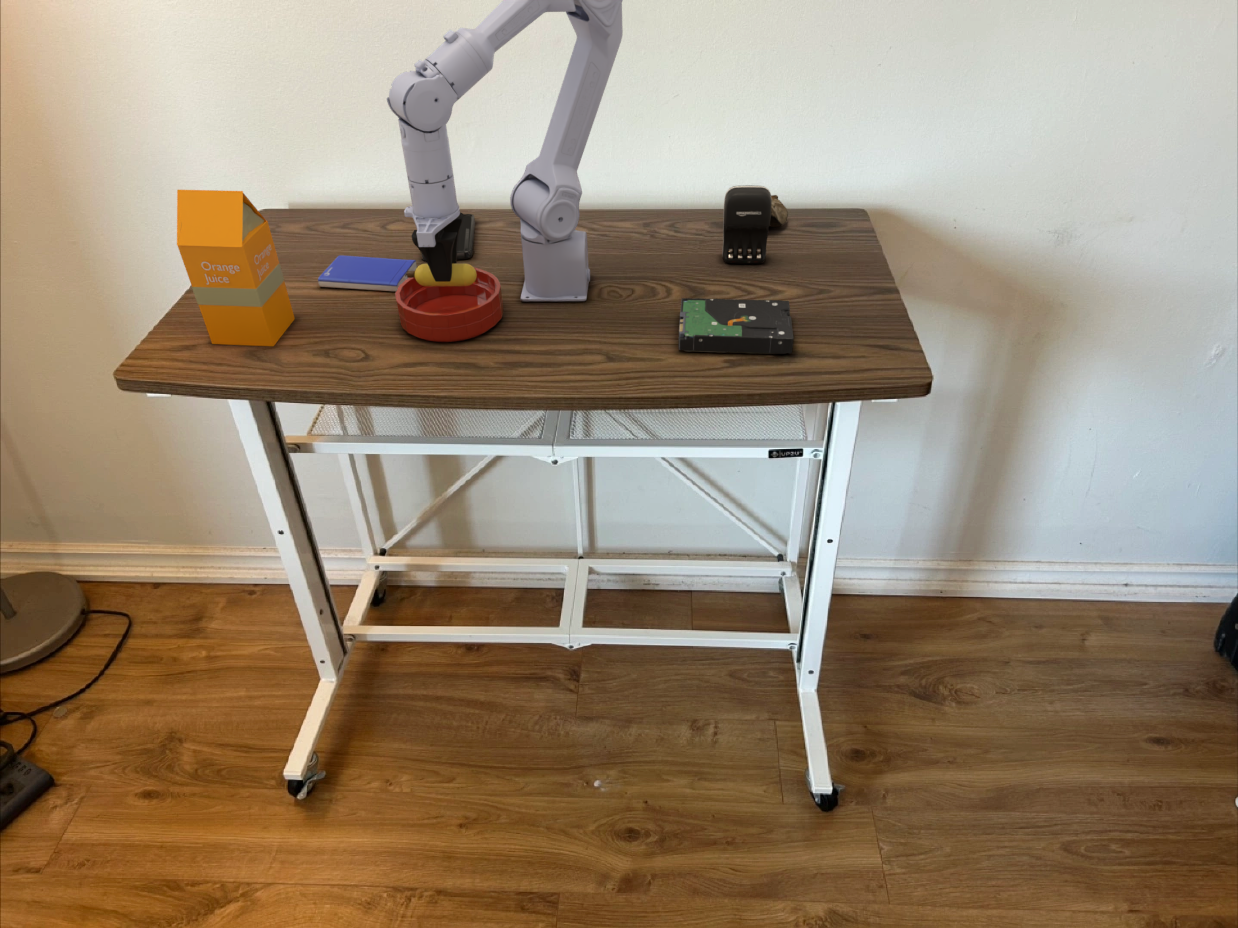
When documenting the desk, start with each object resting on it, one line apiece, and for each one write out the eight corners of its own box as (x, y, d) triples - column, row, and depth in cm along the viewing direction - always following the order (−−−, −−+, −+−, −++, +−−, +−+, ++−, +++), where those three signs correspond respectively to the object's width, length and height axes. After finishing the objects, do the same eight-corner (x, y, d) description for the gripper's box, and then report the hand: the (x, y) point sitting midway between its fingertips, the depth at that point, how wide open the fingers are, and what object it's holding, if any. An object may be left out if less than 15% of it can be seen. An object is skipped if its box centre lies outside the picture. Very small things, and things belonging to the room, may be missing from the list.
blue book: (317, 278, 132) (396, 283, 130) (339, 253, 138) (415, 258, 136) (319, 287, 133) (398, 293, 131) (341, 263, 139) (417, 267, 137)
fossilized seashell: (783, 199, 149) (724, 210, 150) (784, 174, 143) (722, 186, 144) (792, 237, 146) (731, 248, 147) (793, 213, 140) (730, 225, 141)
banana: (479, 279, 122) (476, 259, 120) (475, 289, 120) (473, 269, 118) (411, 279, 123) (408, 259, 121) (407, 290, 120) (403, 269, 118)
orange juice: (236, 316, 126) (191, 177, 114) (295, 318, 125) (257, 179, 113) (210, 344, 120) (160, 202, 108) (273, 347, 119) (230, 203, 107)
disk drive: (786, 317, 123) (679, 314, 124) (789, 299, 121) (680, 296, 122) (792, 357, 115) (677, 353, 116) (795, 338, 113) (678, 334, 114)
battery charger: (721, 266, 135) (725, 194, 128) (720, 255, 138) (724, 184, 131) (767, 267, 135) (774, 194, 128) (765, 255, 138) (772, 184, 131)
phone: (420, 255, 138) (428, 215, 149) (421, 261, 138) (429, 222, 150) (471, 252, 138) (475, 213, 150) (472, 258, 139) (475, 219, 151)
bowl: (509, 294, 130) (506, 265, 127) (495, 344, 119) (492, 314, 116) (413, 294, 130) (408, 266, 127) (390, 344, 119) (384, 315, 116)
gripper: (411, 155, 118) (427, 250, 126) (385, 198, 106) (404, 299, 115) (464, 154, 117) (476, 250, 126) (443, 197, 106) (458, 299, 114)
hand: (445, 274), depth 120 cm, fingers closed on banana, 3 cm apart
